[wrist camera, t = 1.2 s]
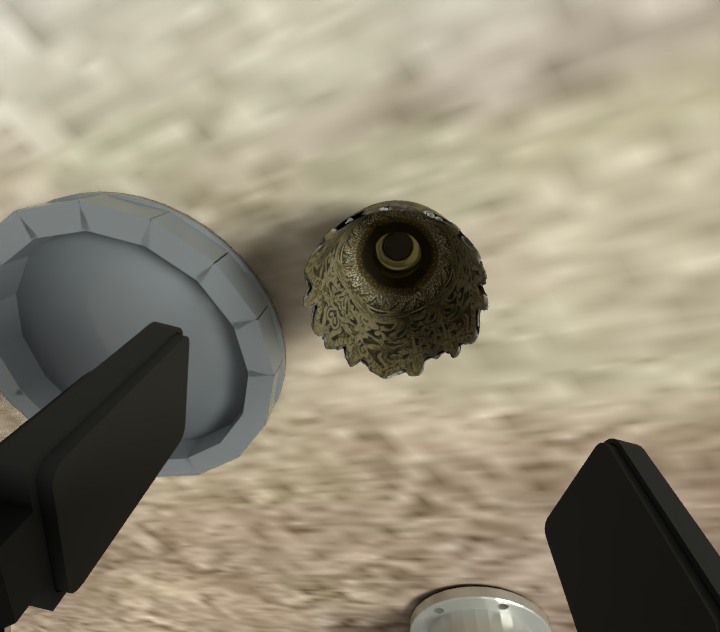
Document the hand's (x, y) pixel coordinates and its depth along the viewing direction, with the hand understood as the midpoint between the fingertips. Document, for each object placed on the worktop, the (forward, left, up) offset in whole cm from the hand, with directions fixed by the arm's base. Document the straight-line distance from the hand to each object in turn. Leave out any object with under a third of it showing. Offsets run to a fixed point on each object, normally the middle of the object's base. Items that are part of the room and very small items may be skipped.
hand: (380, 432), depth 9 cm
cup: (0, 0, -16) cm, 16 cm away
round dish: (-11, +15, -16) cm, 24 cm away
